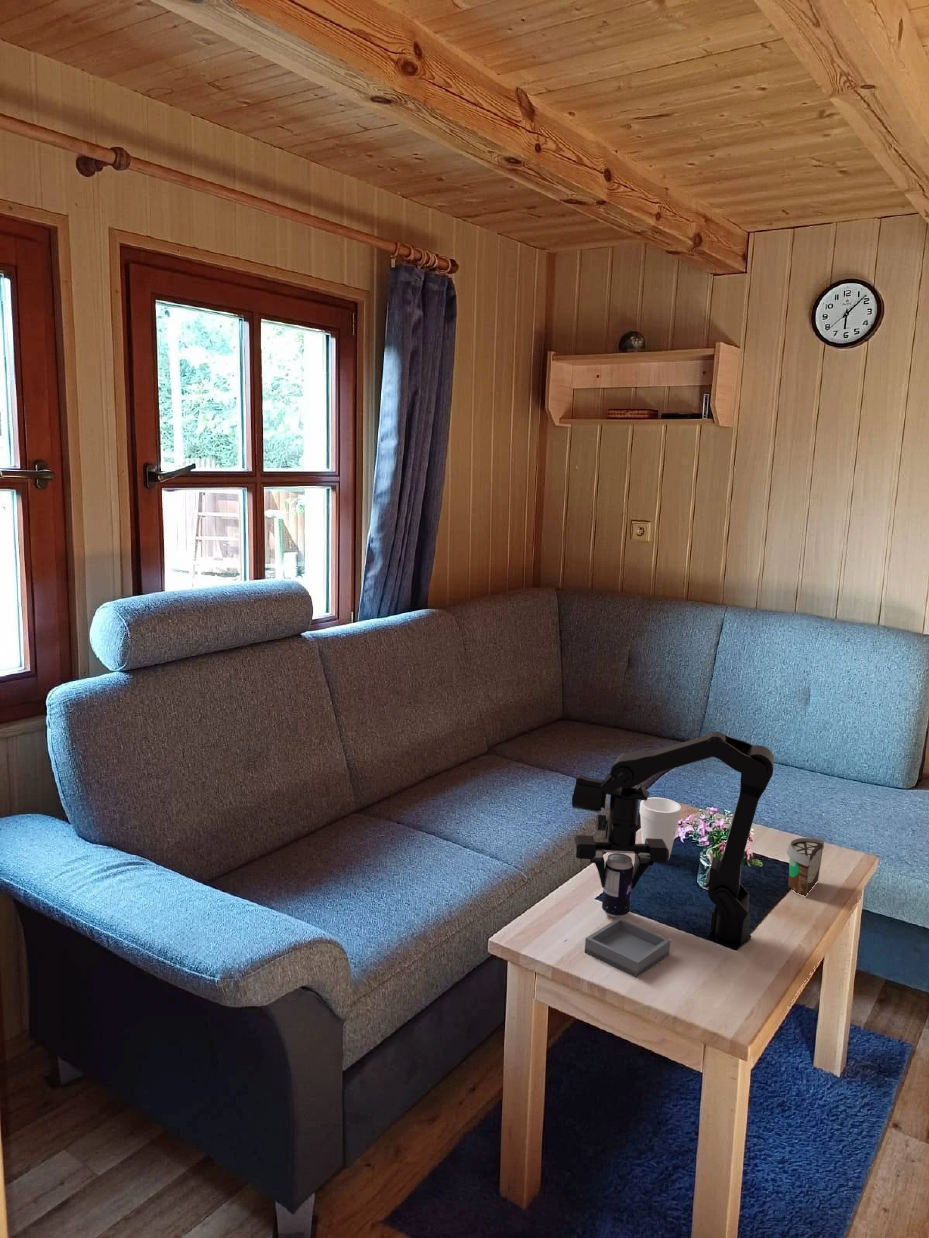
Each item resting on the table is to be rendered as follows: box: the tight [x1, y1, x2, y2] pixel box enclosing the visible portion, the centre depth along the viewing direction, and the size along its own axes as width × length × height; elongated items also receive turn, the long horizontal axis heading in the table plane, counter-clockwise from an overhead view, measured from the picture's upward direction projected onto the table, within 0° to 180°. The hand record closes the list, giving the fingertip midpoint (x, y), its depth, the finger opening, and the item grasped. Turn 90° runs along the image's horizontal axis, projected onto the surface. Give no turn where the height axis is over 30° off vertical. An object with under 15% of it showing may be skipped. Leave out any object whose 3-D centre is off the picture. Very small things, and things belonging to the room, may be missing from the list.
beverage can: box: [601, 853, 634, 918], centre depth 190 cm, size 6×6×12 cm
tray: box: [584, 917, 672, 979], centre depth 176 cm, size 12×12×3 cm
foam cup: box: [638, 796, 682, 859], centre depth 218 cm, size 10×9×13 cm
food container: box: [786, 837, 825, 896], centre depth 207 cm, size 12×6×10 cm, turn 144°
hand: (617, 887), depth 190 cm, fingers closed on beverage can, 6 cm apart
